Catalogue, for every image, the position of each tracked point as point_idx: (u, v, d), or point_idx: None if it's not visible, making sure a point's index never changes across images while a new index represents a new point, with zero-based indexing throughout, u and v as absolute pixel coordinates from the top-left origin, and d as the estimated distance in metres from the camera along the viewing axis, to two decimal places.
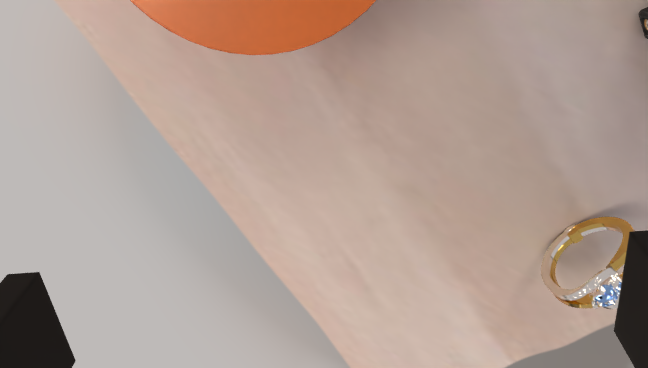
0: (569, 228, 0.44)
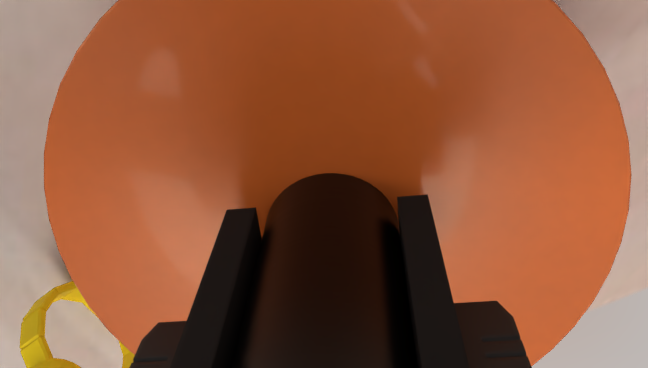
0: None
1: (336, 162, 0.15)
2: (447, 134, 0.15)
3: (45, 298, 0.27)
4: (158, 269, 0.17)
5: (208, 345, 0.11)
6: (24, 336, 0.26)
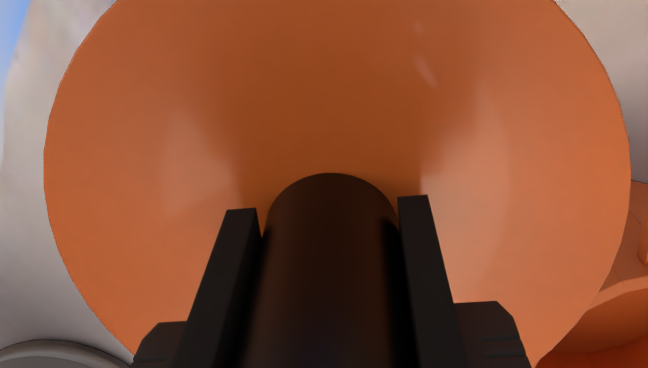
0: None
1: (335, 162, 0.15)
2: (447, 133, 0.15)
3: None
4: (158, 268, 0.17)
5: (208, 345, 0.11)
6: None
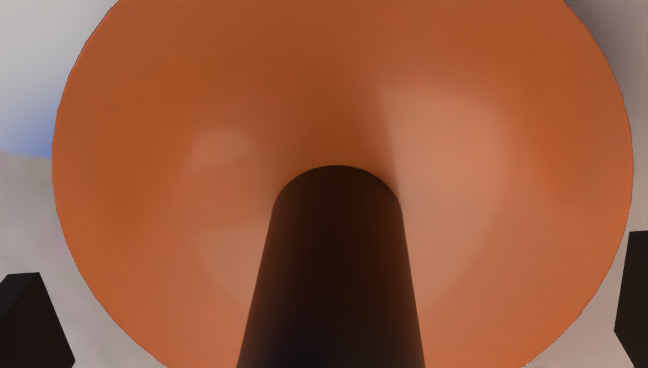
0: None
1: (341, 154, 0.15)
2: (452, 126, 0.15)
3: None
4: (164, 260, 0.17)
5: None
6: None
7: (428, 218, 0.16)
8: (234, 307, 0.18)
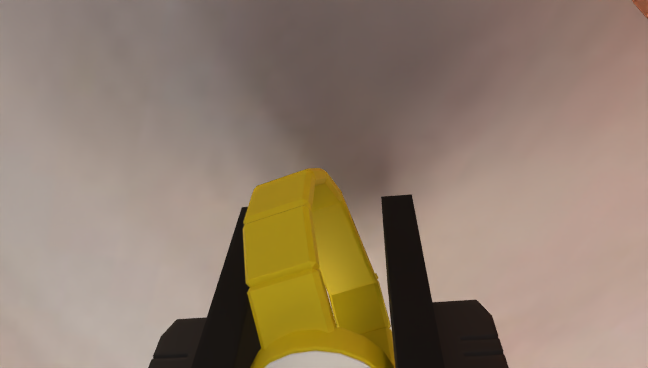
0: None
1: None
2: None
3: (302, 185, 0.12)
4: None
5: (230, 341, 0.11)
6: (262, 256, 0.11)
7: None
8: None
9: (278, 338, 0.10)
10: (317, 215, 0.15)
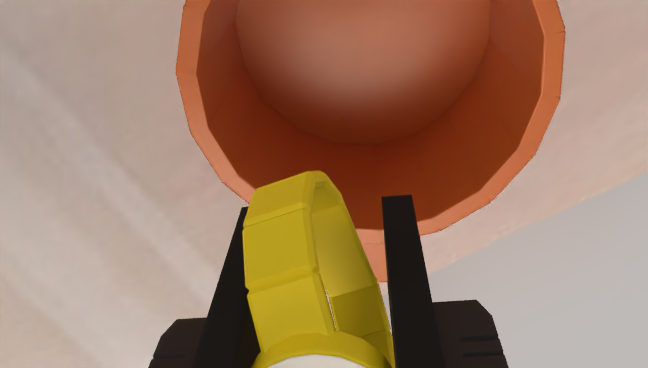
0: None
1: None
2: None
3: (302, 188, 0.12)
4: None
5: (230, 341, 0.11)
6: (262, 260, 0.11)
7: None
8: None
9: (278, 342, 0.10)
10: (317, 217, 0.15)
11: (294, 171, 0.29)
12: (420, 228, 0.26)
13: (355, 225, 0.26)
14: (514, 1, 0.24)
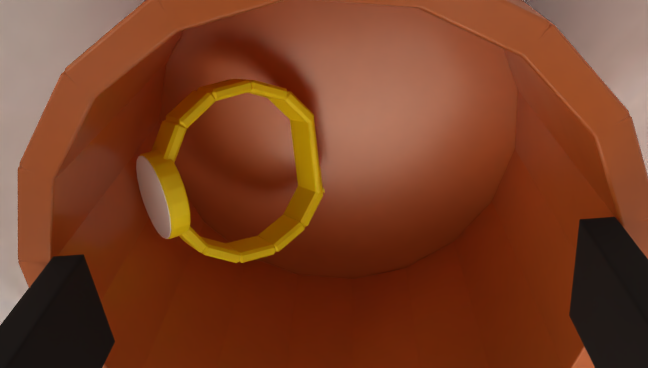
0: None
1: None
2: None
3: (230, 84, 0.18)
4: None
5: None
6: (178, 108, 0.19)
7: None
8: None
9: (155, 150, 0.18)
10: (297, 124, 0.21)
11: (235, 348, 0.20)
12: None
13: None
14: (562, 137, 0.16)
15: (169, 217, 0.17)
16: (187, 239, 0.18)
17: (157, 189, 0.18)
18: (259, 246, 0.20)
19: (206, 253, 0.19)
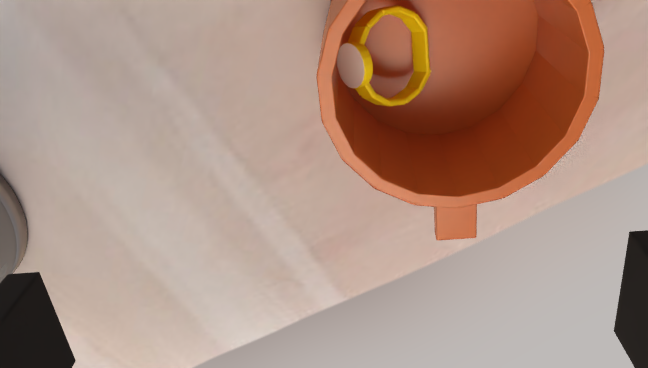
0: None
1: None
2: None
3: (390, 7, 0.35)
4: None
5: None
6: (362, 20, 0.35)
7: None
8: None
9: (351, 41, 0.35)
10: (416, 34, 0.38)
11: (385, 153, 0.37)
12: (488, 195, 0.34)
13: (439, 193, 0.34)
14: (563, 25, 0.32)
15: (363, 73, 0.34)
16: (367, 88, 0.35)
17: (356, 59, 0.34)
18: (398, 99, 0.37)
19: (375, 97, 0.36)
